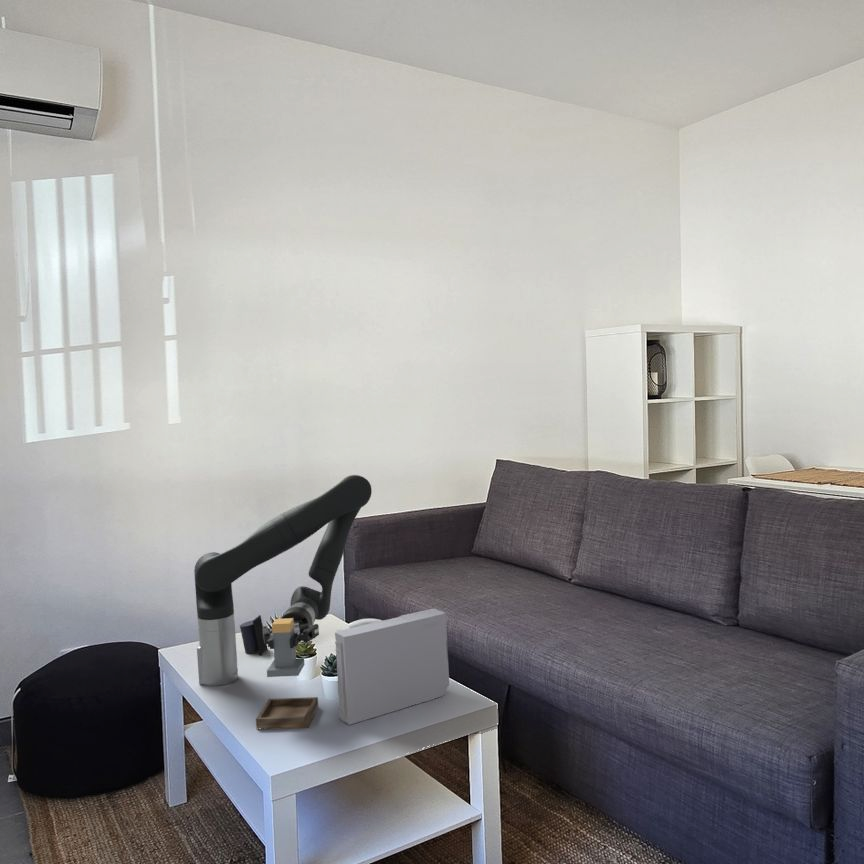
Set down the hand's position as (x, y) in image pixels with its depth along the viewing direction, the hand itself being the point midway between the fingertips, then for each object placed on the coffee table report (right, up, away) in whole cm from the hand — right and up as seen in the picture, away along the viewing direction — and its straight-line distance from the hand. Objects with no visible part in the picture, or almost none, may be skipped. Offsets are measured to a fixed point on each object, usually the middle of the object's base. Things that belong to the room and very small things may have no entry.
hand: (281, 644), depth 177 cm
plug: (+1, -7, +3) cm, 8 cm away
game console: (+25, -17, +7) cm, 31 cm away
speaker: (-18, -17, +52) cm, 58 cm away
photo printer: (+16, -16, +37) cm, 43 cm away
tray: (+1, -18, +4) cm, 18 cm away
